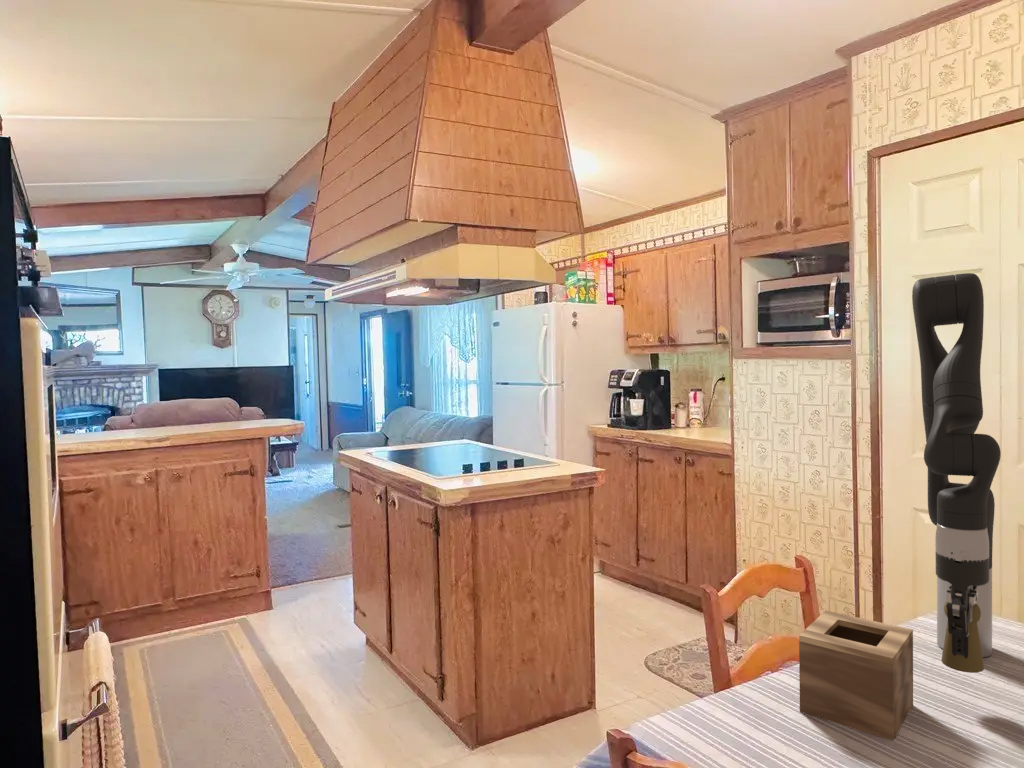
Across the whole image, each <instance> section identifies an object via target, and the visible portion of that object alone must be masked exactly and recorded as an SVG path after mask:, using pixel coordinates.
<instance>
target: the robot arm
mask: <svg viewBox="0 0 1024 768" xmlns="http://www.w3.org/2000/svg"><path fill="white" fill-rule="evenodd" d="M911 295H912V296H911V298H912V311H913V318H914V324H915V330H916V337H917V339H916V340H917V345H918V352H919V362H920V363H919V365H920V380H921V383H920V384H921V403H922V404H921V405H922V406H921V407H922V417H923V424H924V425H923V426H924V431H925V432H924V433H925V442H926V444H925V447H924V450H923V460H924V464H925V466H926V467H927V511H928V516H929V520H930V521H931V523H932V524H933V525H934V526H936V528H935V529H936V530H935V540H934V541H935V543H934V544H935V545H934V546H935V575H936V583H937V584H936V621H937V622H936V643H937V645H938V647H939V648H941V649H942V650H943V647H944V640H945V634H946V627H947V621H948V631H949V634H952V654H953V655H954V656H956V655H957V654H958V655H963V656H964V657H965V658H967V657H968V637H969V635H970V632H969V623H971V622H972V621H973V606H974V605H975V603H976V604H977V605H978V606H979V608H980V610H981V617H980V620H979V621H978V622H977V626H978V633H979V639H980V645H981V651H982V658H987V657H990V656H991V655H992V654H993V546H994V545H993V539H994V538H993V537H994V523H995V509H996V508H995V507H996V506H995V496H994V493H993V491H992V489H991V486H992V484H993V481H994V478H995V476H996V472H997V471H998V467H999V465H1000V461H1001V455H1002V454H1001V447H1000V445H999V443H998V442H997V440H996V439H995V438H994V437H993V436H991V435H990V434H987V433H986V434H985V433H976V431H978V430H977V429H978V428H979V425H980V422H981V421H982V420H983V415H984V408H983V396H982V393H983V392H982V386H981V385H982V384H981V383H982V382H981V363H982V362H981V361H982V349H983V342H984V341H983V339H984V316H985V315H984V313H985V312H984V311H985V310H984V309H985V308H984V307H985V305H984V302H985V301H984V299H985V298H984V289H983V284H982V282H981V278H980V277H979V275H977V274H975V273H971V272H969V273H967V272H966V273H958V274H957V273H956V274H949V275H940V276H932V277H925V278H920V279H918V280H916V281H915V282H914V284H913V287H912V293H911ZM950 325H962V329H961V333H960V336H959V338H958V339H957V341H956V342H955V344H954V345H953V347H952V348H951V350H950V351H949V352H948V351H947V350H946V349H945V347H944V346H943V344H942V342H941V340H940V338H939V337H938V335H937V331H936V329H935V327H936V326H938V327H939V326H950ZM949 476H961V477H962V476H963V477H964V476H965V477H972V479H971V480H970V482H968V483H961V482H960V483H959V482H950V480H949ZM946 601H948V603H947V604H946V607H947V614H948V617H947V616H946V615H945V612H944V605H945V602H946ZM968 608H969V615H968V617H966V612H967V611H968ZM955 624H957V625H961V626H962V628H958V627H955Z"/></svg>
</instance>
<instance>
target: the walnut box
mask: <svg viewBox="0 0 1024 768" xmlns="http://www.w3.org/2000/svg"><path fill="white" fill-rule="evenodd" d="M798 641H799V642H798V644H799V645H798V647H799V648H798V649H799V652H798V653H799V658H798V659H799V660H798V661H799V667H798V668H799V669H798V670H799V676H798V677H799V712H801V713H803V712H804V714H807V715H810V716H813V717H816V716H817V717H816V718H819V717H820V718H819V719H823V720H826V721H829V722H832V723H835V724H839V725H841V726H845V727H848V728H851V729H854V730H856V731H861V732H863V733H866V734H870V735H873V736H876V737H878V738H882V739H884V740H885V739H886V740H888V741H891V742H894V741H895V739H896V737H897V735H898V734H899V732H900V730H901V728H902V726H903V724H904V722H905V721H906V719H907V717H908V715H909V714H910V712H911V709H913V706H914V629H911V628H907V627H903V626H898V625H893V624H889V623H884V622H880V621H875V620H870V619H866V618H861V617H857V616H851V615H847V614H843V613H838V612H833V611H829V610H825V611H823V612H822V613H821V615H819V616H818V617H817V618H816V619H814V620H813V622H812V623H811V624H809V625H808V626H807V627H806V628H805V629H804V630H803V631H802V632H801V633H800V634H799V636H798Z"/></svg>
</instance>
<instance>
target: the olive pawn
mask: <svg viewBox="0 0 1024 768" xmlns="http://www.w3.org/2000/svg"><path fill="white" fill-rule="evenodd" d="M947 603H948V601H946V602H945V605H944V612H945V615H946V616H947V617H948V614H947V607H946V604H947ZM968 615H969V608H968V611H967V612H966V617H968ZM980 617H981V610H980V608H979V606H978V605H977V604H976V603H975V605H974V606H973V621H972V622H971V623H969V632H970V635H969V637H968V657H967V658H965V657H964V656H963V655H958V654H957V655H956V656H954V655H953V654H952V634H949V631H948V621H947V627H946V634H945V640H944V647H943V649H942V653H941V660H940V661H941V663H942V664H943V665H945V667H948V668H949V669H951V670H954V671H957V672H963V673H970V674H975V673H981V672H983V671H984V670H985V665H984V659H983V658H984V657H982V651H981V645H980V639H979V633H978V626H977V622H978V621H979V620H980ZM955 627H958V628H962V626H961V625H957V624H955Z"/></svg>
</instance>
